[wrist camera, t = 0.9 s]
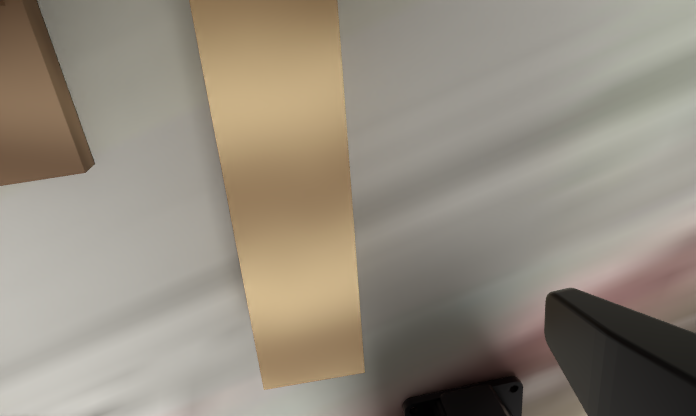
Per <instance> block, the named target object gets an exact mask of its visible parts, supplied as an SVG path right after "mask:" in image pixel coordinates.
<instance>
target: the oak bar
mask: <svg viewBox="0 0 696 416" xmlns="http://www.w3.org/2000/svg"><path fill="white" fill-rule="evenodd" d="M189 2H190V7H191V12H192V17H193V23H194V28H195V33H196V38H197V44H198V49H199V54H200V59H201V64H202V70H203V75H204V80H205V85H206V90H207V96H208V101H209V106H210V111H211V117H212V122H213V127H214V132H215V137H216V143H217V148H218V153H219V158H220V163H221V169H222V174H223V179H224V184H225V189H226V195H227V200H228V205H229V210H230V216H231V221H232V226H233V231H234V236H235V242H236V247H237V252H238V257H239V262H240V268H241V273H242V278H243V283H244V289H245V294H246V299H247V304H248V309H249V315H250V320H251V325H252V330H253V335H254V341H255V346H256V351H257V356H258V361H259V367H260V372H261V377H262V382H263V388H264V390H266V389H272V388H278V387H284V386H290V385H295V384H301V383H307V382H313V381H319V380H324V379H330V378H336V377H342V376H348V375H354V374H359V373H365V369H364V356H363V342H362V329H361V315H360V302H359V288H358V275H357V261H356V247H355V234H354V220H353V207H352V193H351V180H350V166H349V153H348V139H347V126H346V112H345V99H344V85H343V71H342V58H341V44H340V31H339V17H338V4H337V0H189Z"/></svg>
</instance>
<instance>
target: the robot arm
mask: <svg viewBox="0 0 696 416" xmlns="http://www.w3.org/2000/svg"><path fill="white" fill-rule="evenodd" d="M544 333H545V338H546V341H547V344H548V346H549V348H550V350H551V352H552V353H553V355H554V357H555V359H556V360H557V362H558V364H559V366H560V367H561V369H562V371H563V373H564V374H565V376H566V378H567V380H568V381H569V383H570V385H571V387H572V389H573V390H574V392H575V394H576V396H577V397H578V399H579V401H580V403H581V404H582V406H583V408H584V410H585V411H586V413H587V415H588V416H696V333H694V332H691V331H688V330H685V329H683V328H680V327H677V326H675V325H672V324H669V323H667V322H664V321H661V320H658V319H656V318H653V317H650V316H648V315H645V314H642V313H640V312H637V311H634V310H631V309H629V308H626V307H623V306H621V305H618V304H615V303H613V302H610V301H607V300H604V299H602V298H599V297H596V296H594V295H591V294H588V293H586V292H583V291H580V290H577V289H574V288H567V289H562V290H557V291H553V292H550V293H549V294H548V295H547V297H546V304H545V327H544ZM522 396H523V385H522V383H521V382H520V380H519V379H518V378H517V377H515V376H510V377H506V378H501V379H496V380H492V381H487V382H482V383H478V384H473V385H468V386H464V387H459V388H454V389H450V390H445V391H440V392H436V393H431V394H426V395H422V396H417V397H412V398H409V399H407V400H406V401H405V402H404V403H403V416H521V414H522ZM413 407H414V408H413Z"/></svg>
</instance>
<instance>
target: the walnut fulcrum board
mask: <svg viewBox="0 0 696 416" xmlns="http://www.w3.org/2000/svg"><path fill="white" fill-rule="evenodd" d="M94 164H95V163H94V161H93V158H92V155H91V152H90V149H89V147H88V144H87V141H86V138H85V135H84V133H83V130H82V127H81V124H80V121H79V118H78V116H77V113H76V110H75V107H74V104H73V102H72V99H71V96H70V93H69V90H68V88H67V85H66V82H65V79H64V76H63V74H62V71H61V68H60V65H59V62H58V60H57V57H56V54H55V51H54V48H53V46H52V43H51V40H50V37H49V34H48V31H47V29H46V26H45V23H44V20H43V17H42V15H41V12H40V9H39V6H38V3H37V1H36V0H0V186H3V185H9V184H16V183H22V182H29V181H35V180H42V179H48V178H55V177H61V176H68V175H74V174H81V173H86V172H87V171H88V170H89V169H90V168H91V167H92V166H93V165H94Z"/></svg>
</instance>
